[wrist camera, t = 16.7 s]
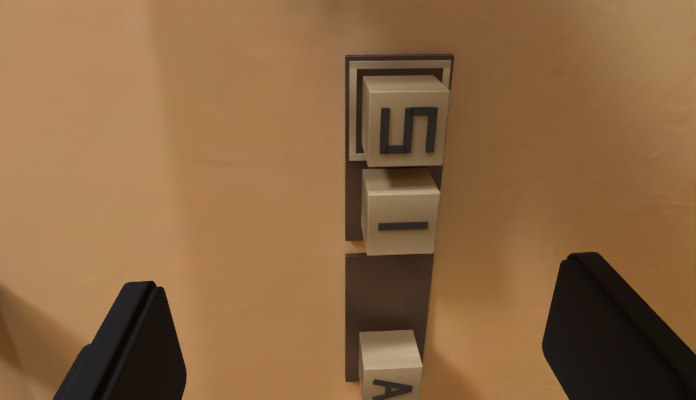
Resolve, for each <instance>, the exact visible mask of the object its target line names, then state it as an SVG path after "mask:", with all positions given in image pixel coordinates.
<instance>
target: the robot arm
mask: <svg viewBox="0 0 696 400" xmlns="http://www.w3.org/2000/svg"><path fill="white" fill-rule="evenodd" d="M542 349H543V353H544V356H545V358H546V360H547V362H548V364H549V365H550V367H551V369H552V371H553V372H554V374H555V376H556V377H557V379H558V381H559V383H560V384H561V386H562V388H563V390H564V391H565V393H566V395H567V396H568V398H569V400H696V355H695V353H694V352H693V351H692V350H691V349H690V348H689V347H688V346H687V345H686V344H685V343H684V342H683V341H682V340H681V339H680V338H679V337H678V336H677V335H676V334H675V333H674V331H673V330H672V329H671V328H670V327H669V326H668V325H667V324H666V323H665V322H664V321H663V320H662V319H661V318H660V317H659V316H658V315H657V314H656V313H655V312H654V311H653V310H652V308H651V307H650V306H649V305H648V304H647V303H646V302H645V301H644V300H643V299H642V298H641V297H640V296H639V295H638V294H637V293H636V292H635V291H634V290H633V289H632V288H631V286H630V285H629V284H628V283H627V282H626V281H625V280H624V279H623V278H622V277H621V276H620V275H619V274H618V273H617V272H616V271H615V270H614V269H613V268H612V267H611V266H610V265H609V263H608V262H607V261H606V260H605V259H604V258H603V257H602V256H601V255H600V254H598V253H597V252H585V253H572V254H570V255H569V256H568V257H567V260H563V261H562V262H561V264H560V268H559V272H558V276H557V281H556V285H555V289H554V294H553V298H552V302H551V307H550V311H549V315H548V320H547V324H546V328H545V333H544V337H543V341H542ZM186 376H187V374H186V367H185V363H184V360H183V356H182V352H181V349H180V345H179V341H178V338H177V334H176V330H175V327H174V323H173V319H172V316H171V312H170V308H169V305H168V301H167V297H166V294H165V290H164V288H163V287H157V286H156V284H155V283H154V282H153V281H142V282H128V283H126V284H125V285H124V286H123V288H122V289H121V291H120V293H119V295H118V296H117V298H116V300H115V302H114V304H113V305H112V307H111V309H110V311H109V313H108V314H107V316H106V318H105V320H104V321H103V323H102V325H101V327H100V329H99V330H98V332H97V334H96V336H95V338H94V339H93V341H92V343H91V344H88V345H86V346H85V347H84V348H83V349H82V350H81V352H80V353H79V355H78V356H77V358H76V360H75V361H74V363H73V365H72V367H71V368H70V370H69V372H68V374H67V375H66V377H65V379H64V381H63V382H62V384H61V386H60V388H59V389H58V391H57V393H56V394H55V396H54V398H53V400H181V399H182V396H183V392H184V389H185V385H186Z"/></svg>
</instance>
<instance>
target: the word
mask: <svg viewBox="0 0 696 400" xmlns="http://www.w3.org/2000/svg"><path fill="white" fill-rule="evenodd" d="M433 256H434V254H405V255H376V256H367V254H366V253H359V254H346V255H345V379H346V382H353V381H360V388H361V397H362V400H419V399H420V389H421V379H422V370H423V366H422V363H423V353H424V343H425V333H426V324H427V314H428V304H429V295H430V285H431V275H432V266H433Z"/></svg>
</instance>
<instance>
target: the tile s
mask: <svg viewBox="0 0 696 400" xmlns="http://www.w3.org/2000/svg"><path fill="white" fill-rule="evenodd" d="M449 99H450V90H449V89H447V88H446V87H445V86H444V85H443V84H442V83H441V82H440V81H439V80H438V79H437V78H436V77H435V76H433V75H411V76H363V99H362V146H363V150H364V153H365V157H366V161H367V165H368V167H394V166H437V165H443V157H444V147H445V137H446V128H447V118H448V108H449Z"/></svg>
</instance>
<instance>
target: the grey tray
mask: <svg viewBox="0 0 696 400" xmlns="http://www.w3.org/2000/svg"><path fill="white" fill-rule="evenodd" d="M453 61H454V55H452V54H419V55H346V56H345V239H346V241H350V240H364V243H365V248H366V254H367V256H376V255H405V254H433V253H434V252H435V242H436V232H437V223H438V213H439V204H440V187H441V178H442V168H443V165H437V166H394V167H368V165H367V161H366V157H365V153H364V150H363V146H362V99H363V76H411V75H433V76H435V77H436V78H437V79H438V80H439V81H440V82H441V83H442V84H443V85H444V86H445V87H446V88H447V89H449V90H451V81H452V71H453ZM449 100H450V99H449ZM448 110H449V108H448ZM447 119H448V118H447ZM446 129H447V128H446ZM445 139H446V137H445ZM444 148H445V147H444ZM443 158H444V157H443Z"/></svg>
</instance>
